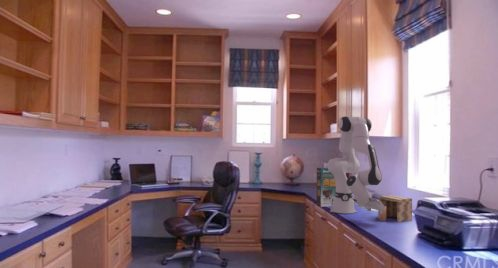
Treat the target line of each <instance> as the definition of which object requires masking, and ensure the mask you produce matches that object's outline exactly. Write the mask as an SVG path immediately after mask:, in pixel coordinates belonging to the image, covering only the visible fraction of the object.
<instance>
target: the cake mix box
mask: <svg viewBox="0 0 498 268" xmlns="http://www.w3.org/2000/svg"><path fill="white" fill-rule="evenodd" d="M335 192H336V182H335V178H334V176H333V174H332V173H331V172H330V171H329V170H328V167H316V206H317V207H320V208H323V207H332V205H331V202H332V201H333V200H334V199H335Z"/></svg>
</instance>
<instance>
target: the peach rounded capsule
mask: <svg viewBox="0 0 498 268" xmlns="http://www.w3.org/2000/svg"><path fill="white" fill-rule="evenodd" d="M377 217H378V219H377V220H378V221H380V222H386V221H387V217H386V206H384V209H383V210H382V214H380V213H379V212H377Z"/></svg>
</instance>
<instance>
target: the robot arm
mask: <svg viewBox="0 0 498 268" xmlns="http://www.w3.org/2000/svg"><path fill="white" fill-rule="evenodd" d="M372 125H373V124H372V121H371V120H370V119H369V118H366V117H359V116H346V115H345V116H342V117H341V118H340V119H339V121H338V127H339V129H340V131H341V133H340V138H339V145H338V150H339V152H340V153H342V157H335V158H331V159H329V160H328V161H327V167H326V168H328V170H329V171H330V172H331V173H332V174H333V176H334V178H335V182H336V192H335V199H334V200H333V201H332V202H331V205H332V206H330V210H329V212H330V213H337V214H355V213H357V212H358V211H357V210H356V209H355V204H356V205H357V206H358V207H360V208H364V209H365V210H367V211H368V212H371V211H372V210H375V211H378V212H379V213H380V214H382V210H383V209H384V205H383V204H382V203H381V202H380V199H377V198H374V197H373V195H372V194H371V192H370V191H369V190H368V188H366V187H367V186H378V185H379V184H380V183H381V182H382V179H383V176H382V172H381V170H380V166H379V161H378V156H377V152H376V149H375V146H374V145H373V144H372V143H371V142H370V131H372ZM356 152H358V153H361V154H365V155H366V156H367V159H368V163H369V169H365V170H360V167H361V164H360V160H358V158H357V157H356ZM351 173H352V175H351V176H349V177H347V174H351ZM378 212H377V213H378Z"/></svg>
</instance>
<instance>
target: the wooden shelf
mask: <svg viewBox="0 0 498 268" xmlns="http://www.w3.org/2000/svg"><path fill="white" fill-rule="evenodd" d="M379 201H380V202H381V203H382V204H383V205H384V206H386V218H389V217H394V218H396V222H398V223H400V222H408V221H412V220H413V198H409V197H404V196H397V195H382V196H381V195H380V196H379Z"/></svg>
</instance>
